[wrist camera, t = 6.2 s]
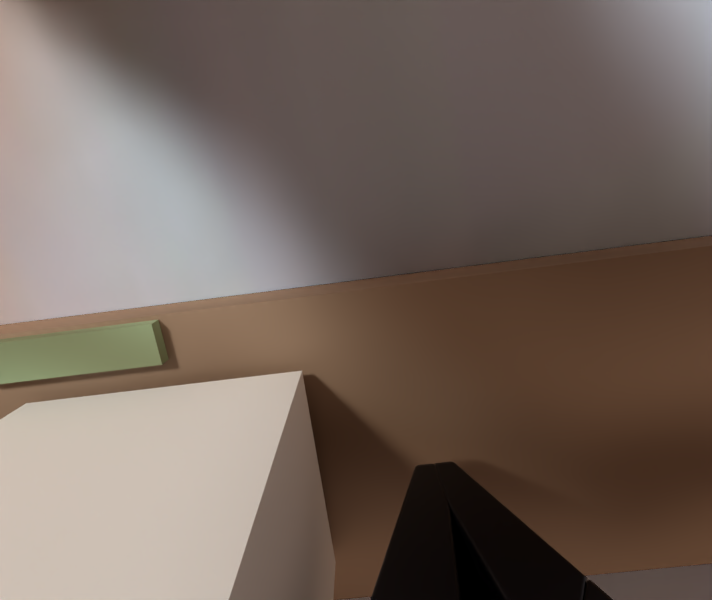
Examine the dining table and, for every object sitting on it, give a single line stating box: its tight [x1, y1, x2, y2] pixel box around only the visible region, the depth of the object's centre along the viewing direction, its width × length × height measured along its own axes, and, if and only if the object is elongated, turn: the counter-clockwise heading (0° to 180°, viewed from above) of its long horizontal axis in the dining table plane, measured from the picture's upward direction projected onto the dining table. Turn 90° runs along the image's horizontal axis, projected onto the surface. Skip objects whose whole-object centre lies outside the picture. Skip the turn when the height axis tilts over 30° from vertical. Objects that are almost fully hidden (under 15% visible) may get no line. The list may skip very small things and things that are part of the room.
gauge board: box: [0, 236, 712, 600], centre depth 7 cm, size 9×24×7 cm, turn 97°
